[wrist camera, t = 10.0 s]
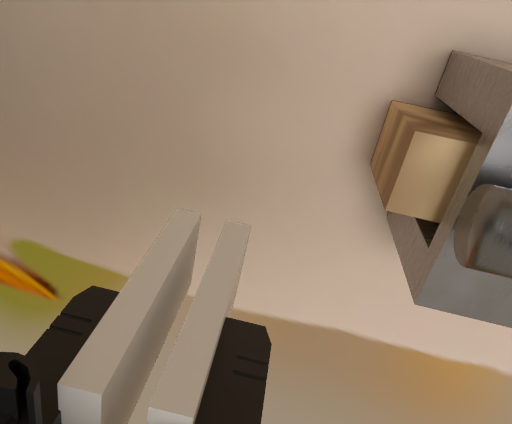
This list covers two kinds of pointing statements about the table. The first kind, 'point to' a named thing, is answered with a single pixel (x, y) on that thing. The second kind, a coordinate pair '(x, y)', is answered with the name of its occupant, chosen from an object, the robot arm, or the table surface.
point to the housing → (469, 205)
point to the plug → (421, 159)
